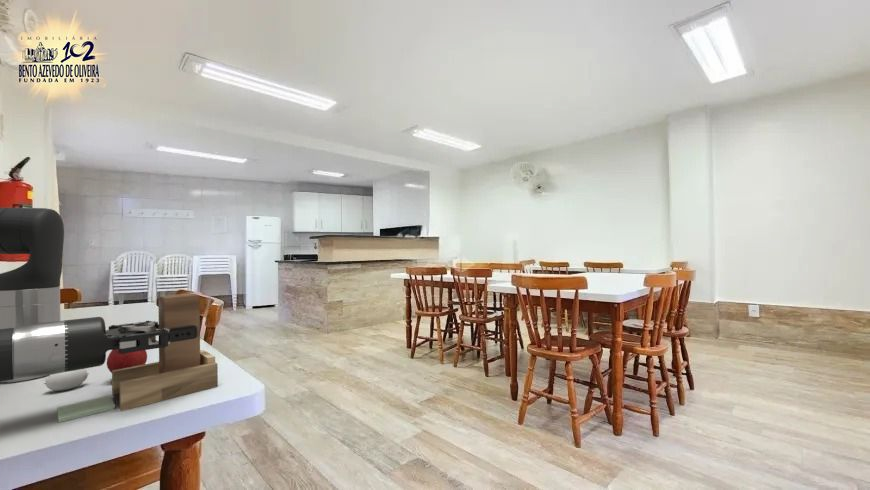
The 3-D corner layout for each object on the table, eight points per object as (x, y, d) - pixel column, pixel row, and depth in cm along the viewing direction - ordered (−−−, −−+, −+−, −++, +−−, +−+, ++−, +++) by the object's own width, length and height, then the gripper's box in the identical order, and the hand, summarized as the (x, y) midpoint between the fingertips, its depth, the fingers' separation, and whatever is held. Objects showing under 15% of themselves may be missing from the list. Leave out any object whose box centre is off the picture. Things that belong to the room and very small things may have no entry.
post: (159, 376, 65) (158, 296, 65) (192, 369, 68) (191, 293, 69) (165, 382, 61) (164, 298, 62) (200, 374, 65) (199, 295, 65)
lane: (217, 386, 65) (217, 357, 65) (120, 410, 55) (120, 377, 55) (200, 374, 72) (200, 348, 72) (112, 394, 62) (111, 364, 62)
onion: (124, 385, 66) (123, 340, 66) (98, 384, 67) (98, 340, 68) (154, 374, 72) (154, 333, 72) (130, 373, 73) (130, 332, 73)
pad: (57, 410, 56) (57, 407, 56) (109, 398, 60) (109, 395, 60) (58, 422, 52) (58, 418, 52) (114, 408, 56) (114, 405, 56)
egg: (93, 385, 67) (93, 364, 67) (47, 397, 62) (47, 374, 62) (85, 382, 69) (85, 361, 69) (39, 393, 64) (39, 370, 64)
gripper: (62, 326, 50) (201, 310, 61) (59, 316, 59) (179, 303, 71) (63, 383, 49) (202, 356, 61) (59, 363, 59) (180, 343, 71)
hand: (189, 328), depth 66 cm, fingers open, 8 cm apart
